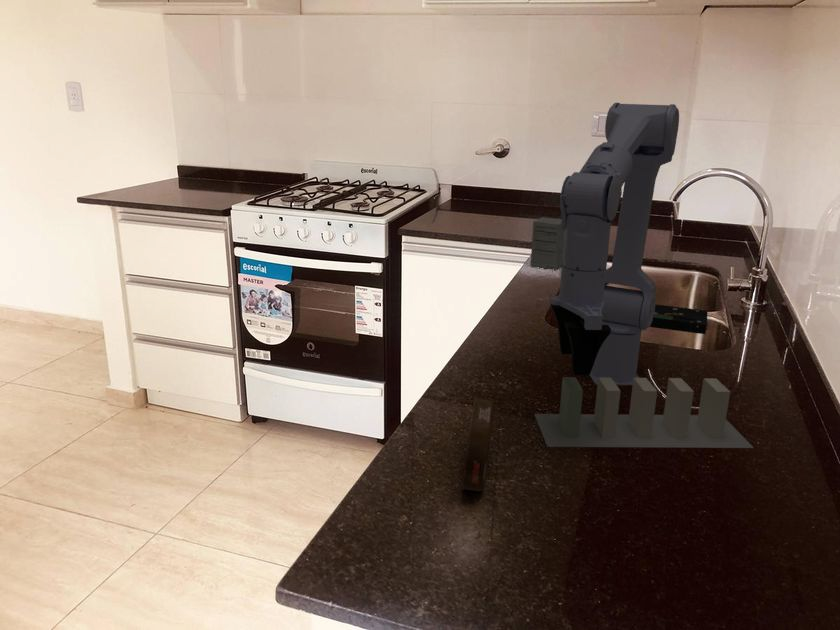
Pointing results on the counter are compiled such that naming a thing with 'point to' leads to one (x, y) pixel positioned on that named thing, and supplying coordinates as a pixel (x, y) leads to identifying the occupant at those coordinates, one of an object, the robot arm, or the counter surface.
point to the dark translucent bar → (478, 445)
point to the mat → (628, 438)
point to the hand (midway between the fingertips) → (575, 363)
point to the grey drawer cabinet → (547, 243)
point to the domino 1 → (570, 406)
